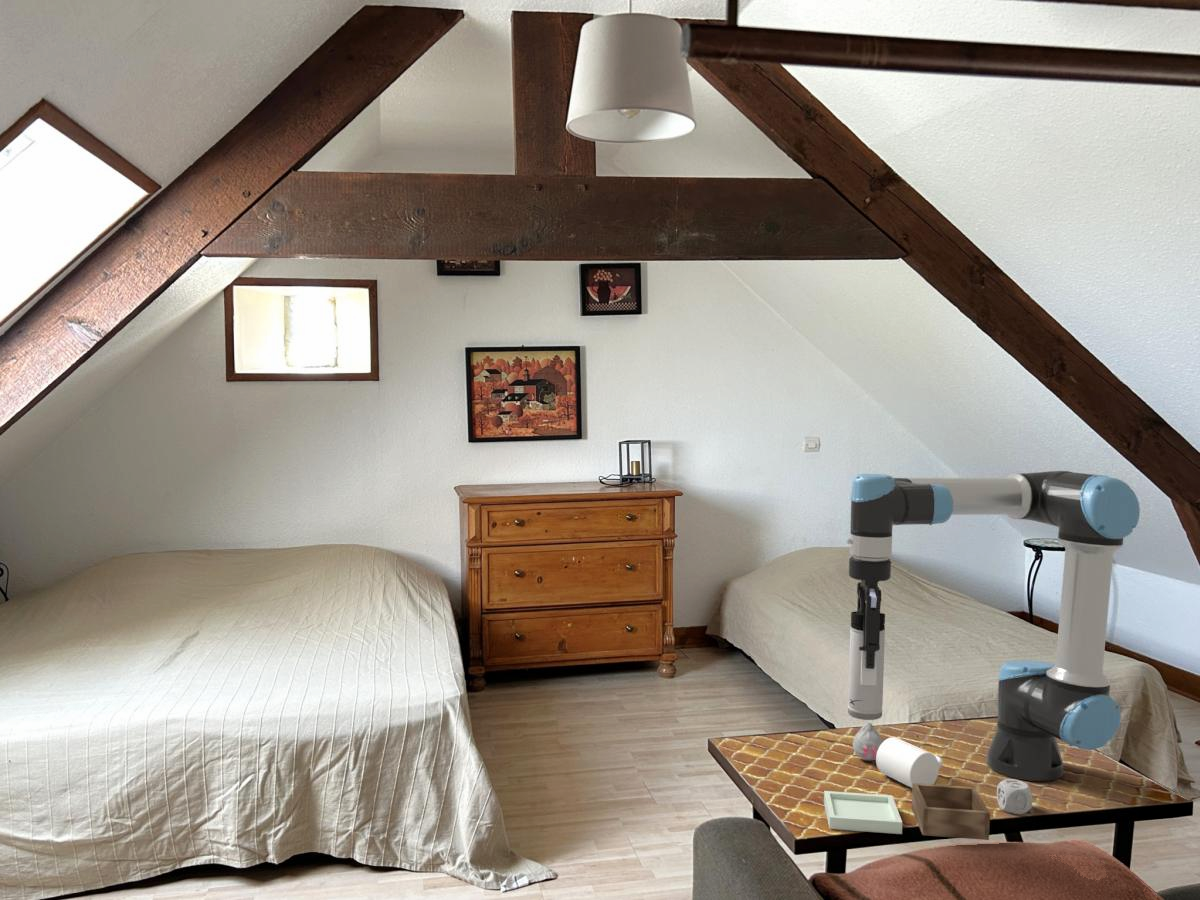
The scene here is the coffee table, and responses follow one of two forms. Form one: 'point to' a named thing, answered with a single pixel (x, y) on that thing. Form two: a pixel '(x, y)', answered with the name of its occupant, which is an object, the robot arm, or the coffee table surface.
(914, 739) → the coffee table surface
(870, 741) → the figurine
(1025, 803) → the die
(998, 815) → the coffee table surface
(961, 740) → the coffee table surface
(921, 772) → the mug
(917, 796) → the holder
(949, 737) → the coffee table surface
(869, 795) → the tray
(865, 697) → the travel mug
